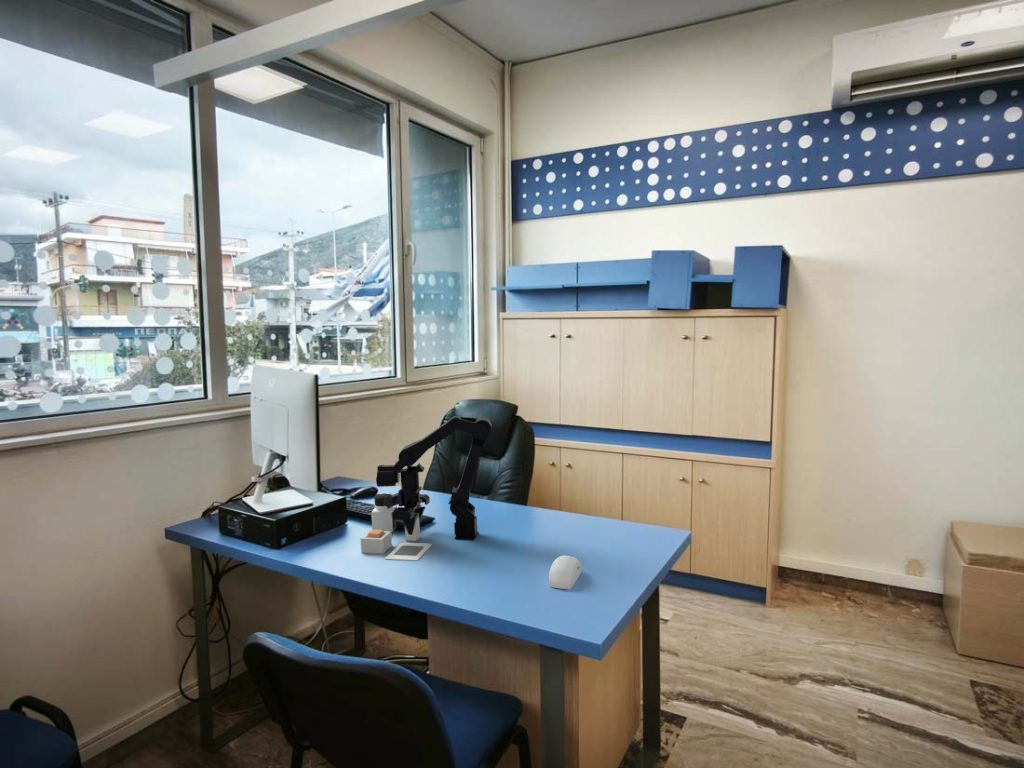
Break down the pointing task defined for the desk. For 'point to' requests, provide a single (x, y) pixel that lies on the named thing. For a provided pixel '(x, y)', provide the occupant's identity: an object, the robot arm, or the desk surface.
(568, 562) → the computer mouse
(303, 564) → the desk surface
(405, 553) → the white grey rectangular pad
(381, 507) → the medicine bottle
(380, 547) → the button housing
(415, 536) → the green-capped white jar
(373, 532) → the button
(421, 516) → the robot arm
